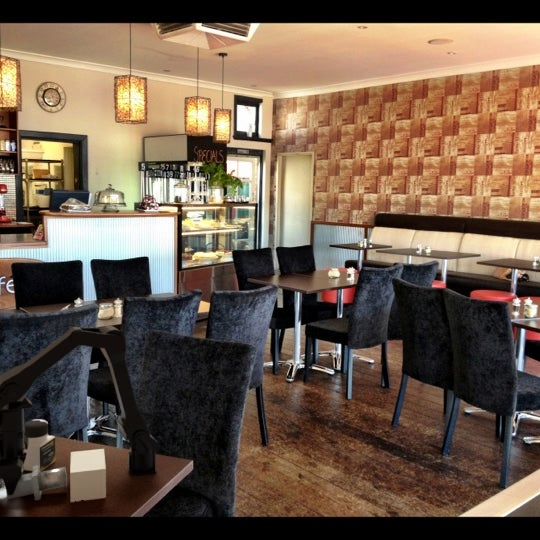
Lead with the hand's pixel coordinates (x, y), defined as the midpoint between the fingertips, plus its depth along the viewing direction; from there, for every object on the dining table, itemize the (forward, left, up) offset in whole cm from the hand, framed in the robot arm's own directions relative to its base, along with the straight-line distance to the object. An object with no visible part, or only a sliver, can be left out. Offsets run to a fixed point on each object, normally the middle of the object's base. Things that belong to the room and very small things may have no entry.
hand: (11, 490), depth 137 cm
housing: (-17, 0, -2) cm, 17 cm away
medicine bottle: (-4, -17, -2) cm, 18 cm away
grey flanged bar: (-6, 0, -2) cm, 6 cm away
